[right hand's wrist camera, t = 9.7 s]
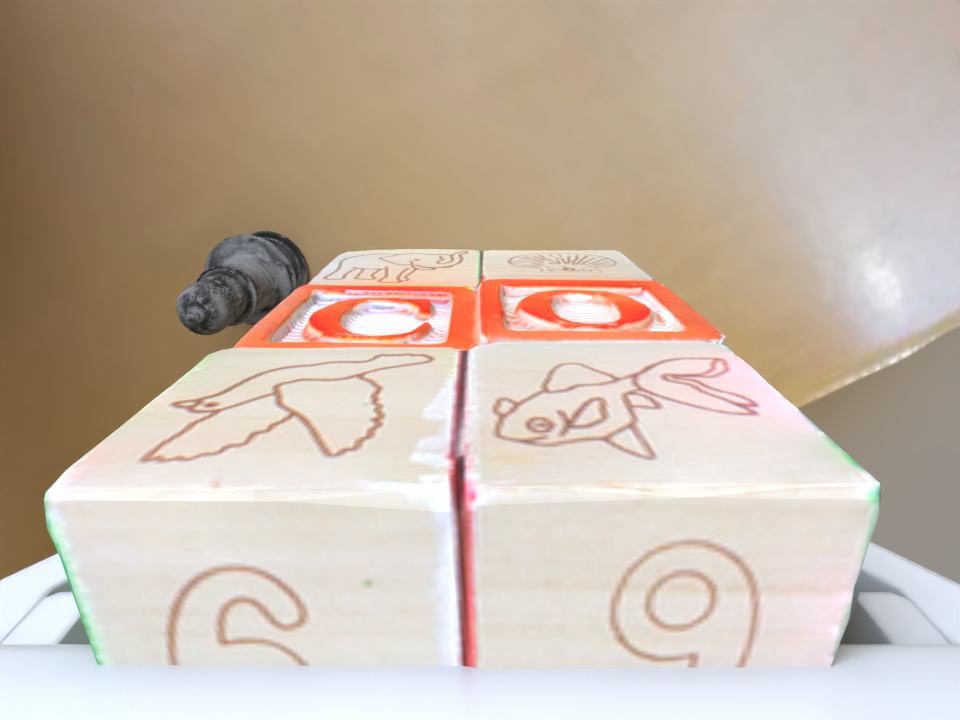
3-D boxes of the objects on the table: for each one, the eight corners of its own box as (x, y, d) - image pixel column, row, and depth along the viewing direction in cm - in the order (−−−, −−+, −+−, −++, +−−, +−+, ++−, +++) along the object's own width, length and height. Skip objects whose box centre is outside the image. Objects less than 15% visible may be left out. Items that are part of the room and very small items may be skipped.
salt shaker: (327, 260, 40) (266, 307, 29) (285, 325, 42) (213, 393, 31) (252, 209, 39) (159, 237, 28) (212, 278, 41) (109, 331, 30)
